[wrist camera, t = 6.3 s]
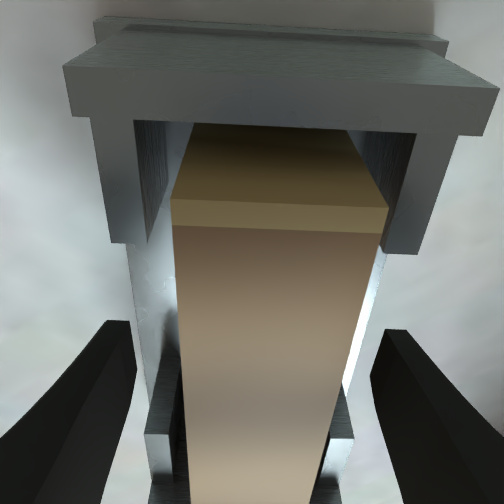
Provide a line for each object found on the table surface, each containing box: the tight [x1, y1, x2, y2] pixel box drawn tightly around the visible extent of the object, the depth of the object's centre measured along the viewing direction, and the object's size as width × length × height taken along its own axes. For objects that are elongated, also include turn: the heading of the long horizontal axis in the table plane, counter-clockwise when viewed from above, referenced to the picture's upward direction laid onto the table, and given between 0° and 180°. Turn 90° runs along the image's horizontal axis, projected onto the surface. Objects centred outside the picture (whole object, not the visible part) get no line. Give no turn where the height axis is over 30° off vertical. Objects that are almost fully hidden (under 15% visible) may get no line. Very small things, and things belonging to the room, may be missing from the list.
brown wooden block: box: [170, 122, 389, 504], centre depth 12 cm, size 12×4×5 cm, turn 177°
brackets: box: [62, 16, 500, 504], centre depth 13 cm, size 16×8×5 cm, turn 177°
